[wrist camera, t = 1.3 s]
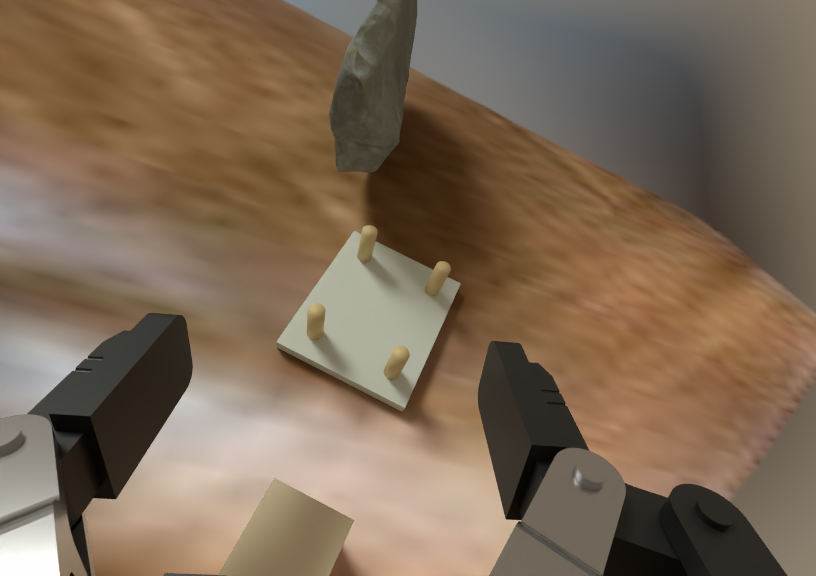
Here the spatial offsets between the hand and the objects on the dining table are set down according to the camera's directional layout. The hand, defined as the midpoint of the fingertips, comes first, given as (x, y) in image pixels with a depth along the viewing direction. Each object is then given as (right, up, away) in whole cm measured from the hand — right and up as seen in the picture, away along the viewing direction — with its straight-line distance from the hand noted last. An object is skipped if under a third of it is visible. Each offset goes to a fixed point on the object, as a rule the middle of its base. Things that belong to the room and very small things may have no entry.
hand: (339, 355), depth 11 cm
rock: (-3, +19, +41) cm, 45 cm away
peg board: (-1, -1, +29) cm, 29 cm away
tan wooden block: (-6, -17, +18) cm, 25 cm away
